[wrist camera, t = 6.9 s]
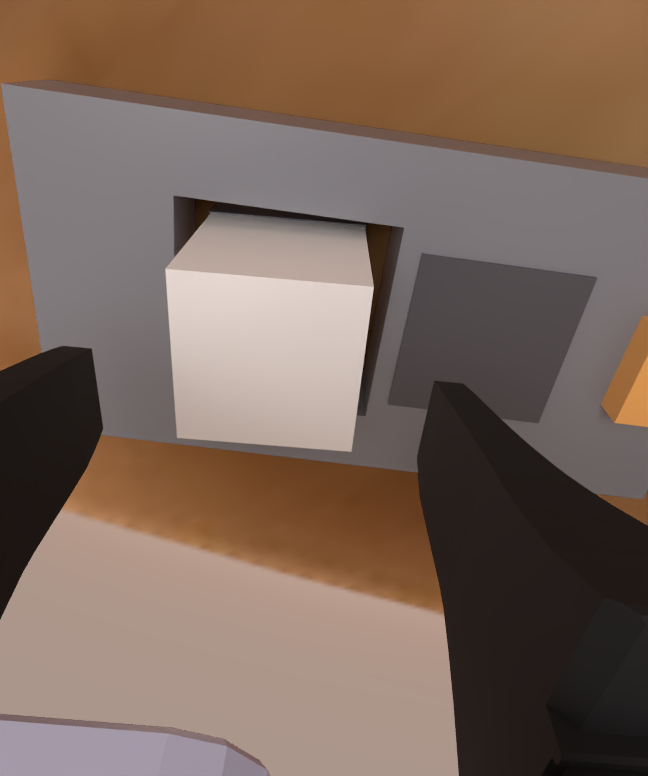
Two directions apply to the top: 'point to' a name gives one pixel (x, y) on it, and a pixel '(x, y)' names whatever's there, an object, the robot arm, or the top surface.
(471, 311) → the grey slotted holder
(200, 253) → the plug
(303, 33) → the top surface
